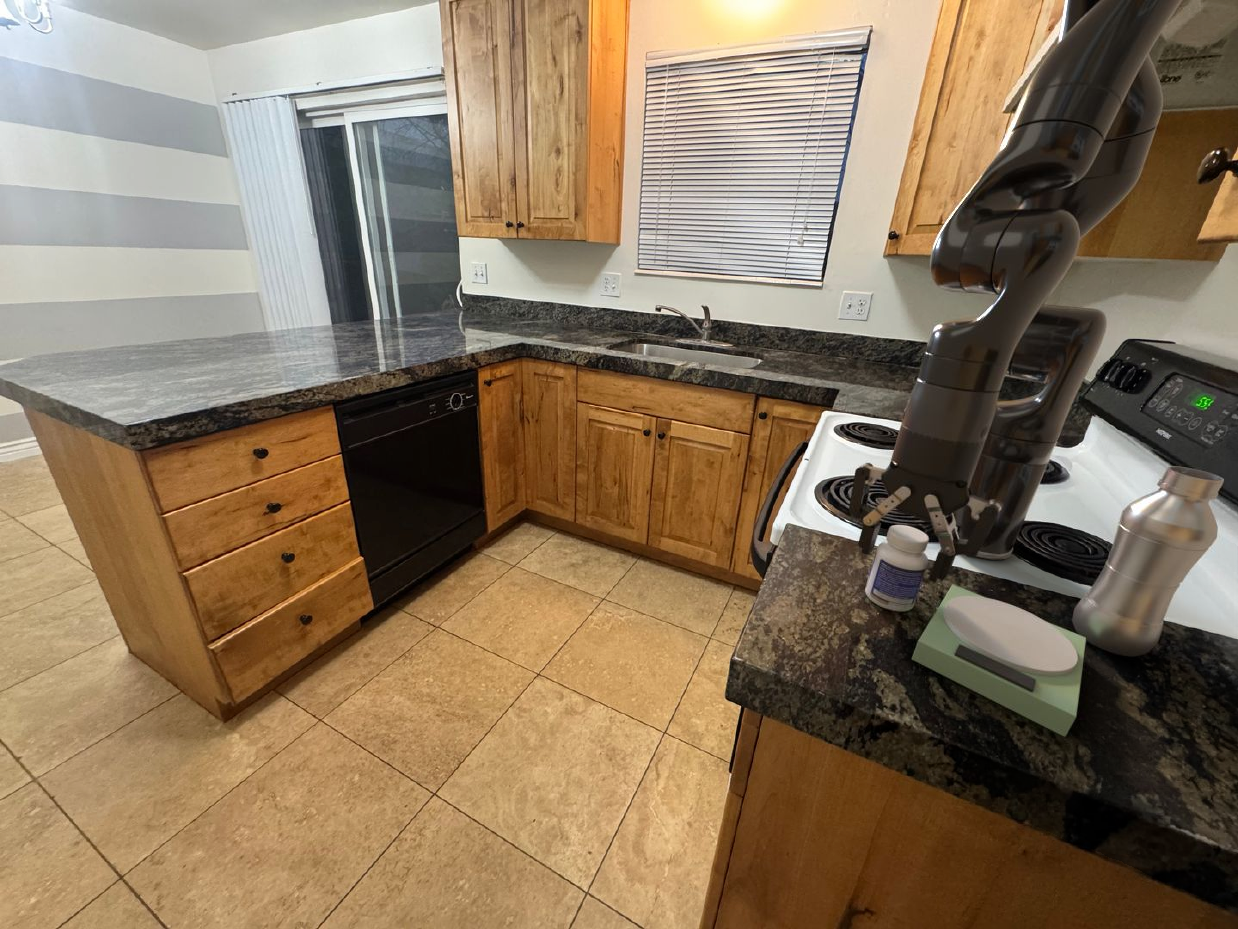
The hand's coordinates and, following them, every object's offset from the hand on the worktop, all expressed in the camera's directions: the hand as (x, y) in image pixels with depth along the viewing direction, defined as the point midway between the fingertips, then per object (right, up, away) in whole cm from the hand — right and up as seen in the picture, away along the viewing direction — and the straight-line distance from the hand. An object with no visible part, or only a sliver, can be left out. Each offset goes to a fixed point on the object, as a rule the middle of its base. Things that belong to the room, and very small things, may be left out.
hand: (899, 564), depth 57 cm
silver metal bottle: (+20, -8, -3) cm, 22 cm away
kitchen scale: (+6, -8, -6) cm, 12 cm away
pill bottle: (0, -5, +2) cm, 5 cm away
